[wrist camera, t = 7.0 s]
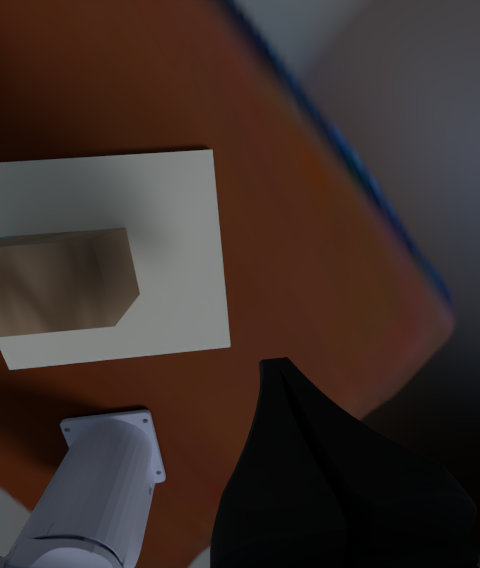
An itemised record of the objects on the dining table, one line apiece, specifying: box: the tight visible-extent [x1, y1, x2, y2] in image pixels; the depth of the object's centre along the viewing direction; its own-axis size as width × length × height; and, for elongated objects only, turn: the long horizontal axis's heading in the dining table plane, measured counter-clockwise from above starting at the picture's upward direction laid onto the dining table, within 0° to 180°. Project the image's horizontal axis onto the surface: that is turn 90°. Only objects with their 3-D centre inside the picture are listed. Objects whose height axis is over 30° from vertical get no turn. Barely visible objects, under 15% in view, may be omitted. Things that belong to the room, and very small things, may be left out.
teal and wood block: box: [0, 228, 140, 337], centre depth 16 cm, size 5×5×8 cm
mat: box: [0, 150, 231, 370], centre depth 19 cm, size 15×18×1 cm
